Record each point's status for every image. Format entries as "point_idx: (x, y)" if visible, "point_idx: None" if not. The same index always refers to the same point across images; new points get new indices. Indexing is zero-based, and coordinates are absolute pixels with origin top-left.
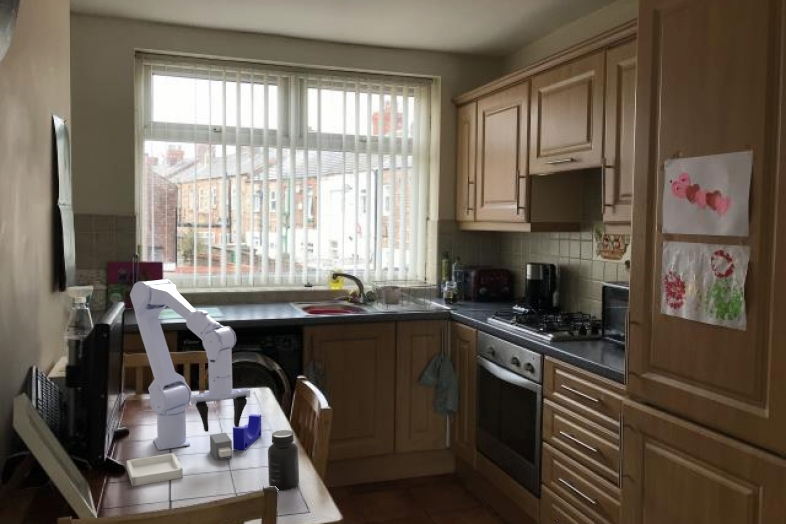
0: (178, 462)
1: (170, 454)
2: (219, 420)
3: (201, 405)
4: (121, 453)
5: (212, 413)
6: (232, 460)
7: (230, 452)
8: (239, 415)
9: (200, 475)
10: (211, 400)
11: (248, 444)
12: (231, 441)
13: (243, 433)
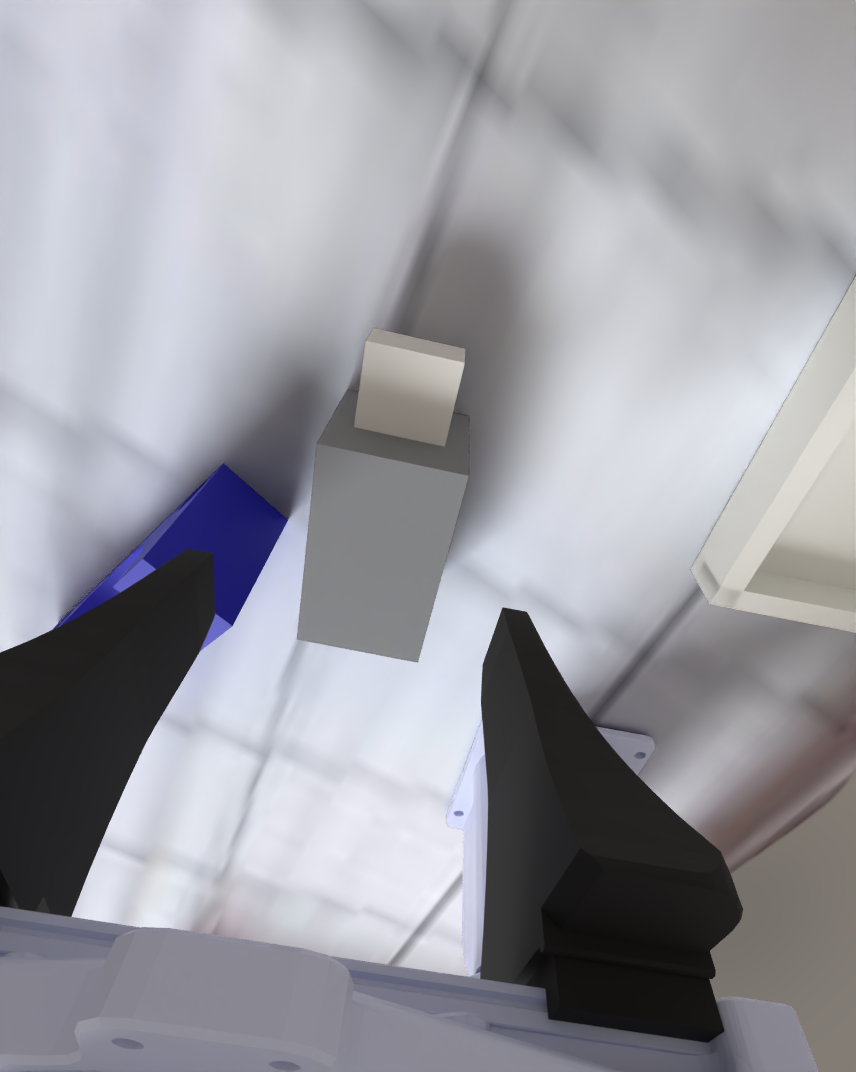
0: (837, 404)
1: (749, 591)
2: (228, 865)
3: (640, 939)
4: (802, 795)
5: (233, 923)
6: (369, 319)
7: (376, 336)
8: (106, 616)
9: (761, 140)
10: (440, 996)
11: (169, 516)
12: (320, 441)
13: (168, 534)
